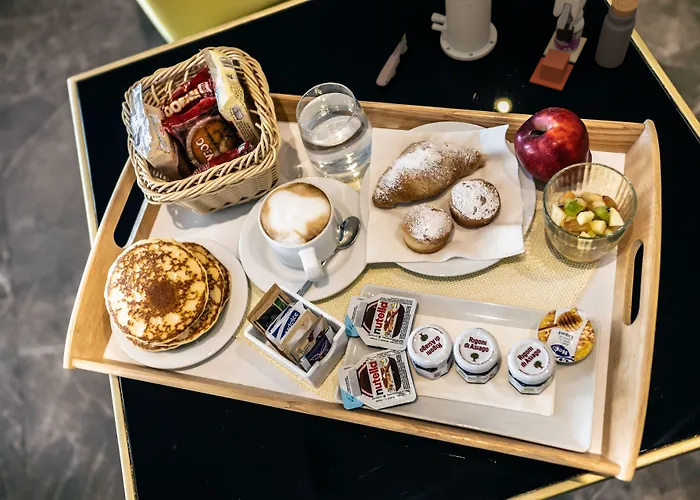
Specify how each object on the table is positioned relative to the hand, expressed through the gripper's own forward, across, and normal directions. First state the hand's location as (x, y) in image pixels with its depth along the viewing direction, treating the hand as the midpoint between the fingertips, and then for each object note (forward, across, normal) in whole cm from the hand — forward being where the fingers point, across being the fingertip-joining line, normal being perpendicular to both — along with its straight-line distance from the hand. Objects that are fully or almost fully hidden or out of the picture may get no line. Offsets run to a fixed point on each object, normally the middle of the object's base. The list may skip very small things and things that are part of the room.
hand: (569, 29), depth 127 cm
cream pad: (+5, 0, 0) cm, 5 cm away
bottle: (+5, 0, +9) cm, 11 cm away
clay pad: (+5, +8, 0) cm, 10 cm away
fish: (+5, +19, -33) cm, 38 cm away
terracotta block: (+5, +8, 0) cm, 9 cm away
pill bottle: (+5, 0, 0) cm, 5 cm away
